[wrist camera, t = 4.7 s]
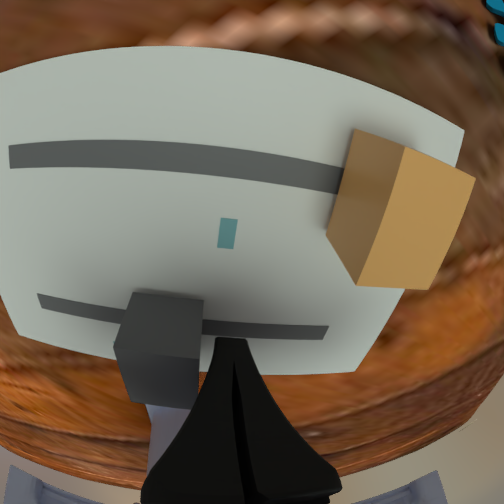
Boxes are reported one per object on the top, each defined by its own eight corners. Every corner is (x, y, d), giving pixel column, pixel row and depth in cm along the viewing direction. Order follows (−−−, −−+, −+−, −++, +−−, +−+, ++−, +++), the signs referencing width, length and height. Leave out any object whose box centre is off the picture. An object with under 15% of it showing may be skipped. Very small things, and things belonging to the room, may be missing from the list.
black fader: (200, 358, 13) (197, 410, 11) (141, 351, 13) (131, 401, 10) (203, 300, 11) (199, 359, 9) (132, 291, 11) (112, 347, 8)
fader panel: (345, 348, 18) (354, 371, 16) (30, 314, 14) (18, 335, 12) (437, 122, 10) (465, 131, 8) (-6, 82, 7) (-33, 86, 5)
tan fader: (389, 244, 10) (427, 289, 8) (325, 235, 10) (355, 285, 7) (421, 152, 8) (475, 178, 6) (354, 128, 8) (405, 146, 5)
